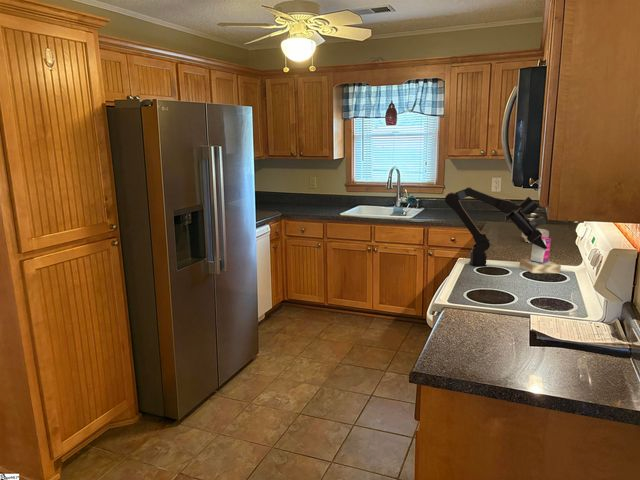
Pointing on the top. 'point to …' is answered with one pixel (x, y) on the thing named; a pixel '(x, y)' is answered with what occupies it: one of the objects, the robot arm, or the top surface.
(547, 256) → the supplement box
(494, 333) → the top surface
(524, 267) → the block
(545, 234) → the paper bowls
